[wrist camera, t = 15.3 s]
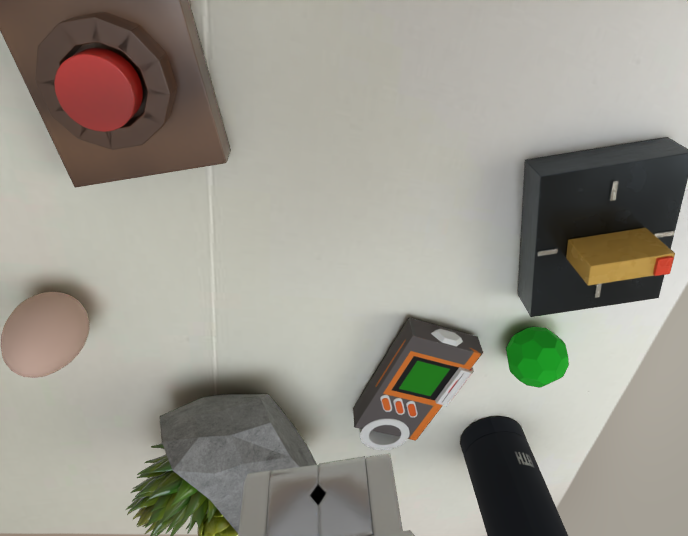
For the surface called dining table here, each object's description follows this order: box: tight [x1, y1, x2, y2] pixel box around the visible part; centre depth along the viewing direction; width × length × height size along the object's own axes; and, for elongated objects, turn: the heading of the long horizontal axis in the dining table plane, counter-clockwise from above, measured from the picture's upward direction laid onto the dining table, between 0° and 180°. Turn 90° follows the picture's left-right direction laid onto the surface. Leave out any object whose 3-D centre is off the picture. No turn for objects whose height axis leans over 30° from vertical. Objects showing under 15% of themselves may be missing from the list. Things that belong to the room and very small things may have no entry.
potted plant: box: [125, 394, 317, 536], centre depth 44 cm, size 12×13×15 cm
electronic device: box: [353, 318, 483, 450], centre depth 46 cm, size 7×3×15 cm
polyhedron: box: [506, 327, 569, 387], centre depth 44 cm, size 5×5×5 cm
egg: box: [1, 292, 89, 378], centre depth 38 cm, size 5×5×7 cm
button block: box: [0, 0, 231, 187], centre depth 30 cm, size 12×10×4 cm
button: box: [55, 48, 143, 132], centre depth 28 cm, size 4×4×2 cm
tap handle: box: [566, 228, 675, 285], centre depth 35 cm, size 6×2×4 cm, turn 98°
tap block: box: [518, 137, 688, 317], centre depth 38 cm, size 12×10×3 cm
